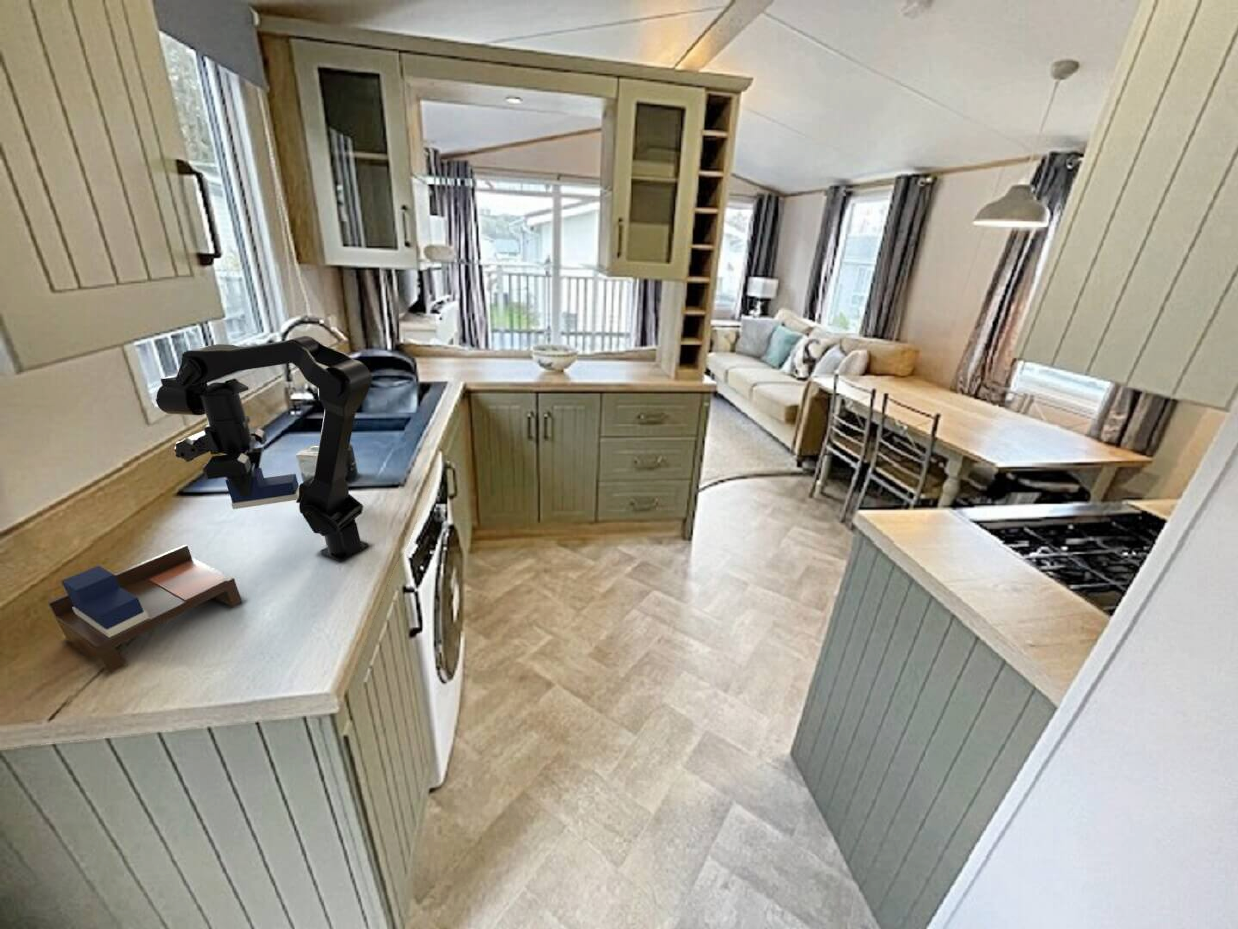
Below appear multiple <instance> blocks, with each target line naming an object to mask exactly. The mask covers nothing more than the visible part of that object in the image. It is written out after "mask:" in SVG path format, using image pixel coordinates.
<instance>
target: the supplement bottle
mask: <svg viewBox="0 0 1238 929" xmlns="http://www.w3.org/2000/svg"><path fill="white" fill-rule="evenodd" d="M358 478H359V471H358V464H357V460H356V456H355V450H354V447H353V444H351V443H350V445H349V450H348V455H347V461H346V466H345V471H344V479H345V480H346V482H347V483H351V482H353V481H355V480H357V479H358Z"/></svg>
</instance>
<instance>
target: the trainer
mask: <svg viewBox="0 0 1238 929" xmlns="http://www.w3.org/2000/svg"><path fill="white" fill-rule="evenodd" d="M224 481H225V484H226V489H227V490H228V493H229V497H230V500H231V508H232V510H238V509H244V508H251V507H258V506H264V505H265V506H266V505H272V504H279V503H285V502H292V501H297V500H298V497H299V486H300V484H299V482H298V477H297V474H296V473H290V474H284V475H283V474H282V475H276V476H269V477H264V473H263V469H262V467H259V468H255V469H254V473H253V480H252V488H251V494H250V497H249V498H243V497H242V496H241V495H240V493H239V492H238V491H237V490H236V488H235V487H234V486H233V484H232V483H231V482H230V481H229V480H228V479H227V478H226V479H225V480H224Z"/></svg>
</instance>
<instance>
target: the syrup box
mask: <svg viewBox="0 0 1238 929" xmlns="http://www.w3.org/2000/svg"><path fill="white" fill-rule="evenodd" d="M318 450H319V445H310V446H308V447H306V448H303V449H301V450H300V451H299V452H298V453H296V454H295V458H296V461H297V465H298V469H299V472H300V476H301V480H302V483H303V482H305V481H306V480H308V479H309V478H311V477H312V476H314V475H315V469H316V463H317V457H318Z"/></svg>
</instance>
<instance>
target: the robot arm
mask: <svg viewBox="0 0 1238 929" xmlns="http://www.w3.org/2000/svg"><path fill="white" fill-rule="evenodd" d="M289 364H292V365H294V366H295V367H297V369H298V370H299V371H300V373H301V374H302V376H303V377H304V379H305V380H306V381H307V382H308V383H310V384H311V385H313V386H314V387H316V388H317V392H318V393H317V395H318V399H319V401H320V403H321V404H322V407H323V409H324V413H323V420H322V427H321V432H320V438H319V443H318V444H319V445H318V446H319V450H318V457H317V463H316V469H315V475H314V476H312V477H311V478H309V479H308V480H306V481H305V482H303V481H302V483H300V484H299V485H300V486H299V497H298V500H295V503H296V504H298V510H299V512H300V514H302V516H303V518H304V520H305V521H306V523H307V524H308V526H309V527H310V529H311V530H312V532H313V533H314V534H319V535H320V536H321V537H324V541H325V544H326V547H324V548H323V549H321V550H320V554H321V555H324V556H326V557H328V558H330V559H333V560H336V561H338V562H343V561H346V560H347V559H350V558H351V557H353V556H355V555H357V554H359V553H360V552H362V551H364V550H365V549H367V548H369V547H370V545H369V544H370V543H368V542H365V541H362V540H361V536H360V532H359V528H358V523H357V522H356V518H358V517H359V516H361V515H362V514H363V510H364V505H363V504H362V503H361V502H360V501H358V499H356V498H355V497H354V496H353V495H351V493H350V492H349V491H350V490H349V489H350V487H349V484H348V482H346V480H345V479H344V471H345V466H346V461H347V455H348V450H349V445H350V444H351V439H352V434H353V428H354V423H355V418H356V414H357V411H358V409H359V408H360V406H361V405H362V403H363V402H364V401H365V399H366V398H367V395H368V393H369V391H370V389H371V386H372V384H373V373H372V372H371V371H370V370H369V369H368V367H367V366H366V365H365V363H363V362H361V361H360V360H357V359H353V357H351V356H350V355H348V354H346V353H345V352H342V351H340V350H338V349H335V348H333V347H330V346H327V345H325V344H323V343H322V342H321V341H319V340H318V339H316V338H314V337H312V336H309V335H303V336H298V337H294V338H291V339H286V340H279V341H274V342H267V343H260V344H255V345H248V346H238V345H235V344H223V343H222V344H221V343H219V344H217V343H216V344H212V345H207V346H202V347H197V348H193V349H189V350H186V351H183V352H182V354H181V363H180V366H179V369H178V371H177V374H176V376H171V375H170V376H167V377H163V378H161V379H160V382H161V386H160V387H159V388H158V390H157V393H156V399H155V403H156V405H157V407H158V408H159V409H160V410H161V411H162V412H163V413H166V414H168V415H181V416H184V415H185V416H204V415H205V418H206V421H207V425H206V426H205V427H204V428H203V430H202V431H200V432H198V433H195V434H193V435H190V436H188V437H184V438H183V439H182V440H177V442H176V443H175V444H174V449H173V451H174V452H175V457H176V458H179V459H180V458H181V459H182V460H184V462H186V463H190V462H192V461H194V460H195V459H196V458H199V457H200V456H203V455H205V454H208V453H210V455H211V457H210V458H209V460H208V461H207V462H206V463H205V464H204V466H203V467H202V472H203V475H204V478H205V479H206V480H213V479H221V478H222V479H223V478H226V479H228V480H229V481H230V482H231V483H232V484H233V486H234V487H235V488H236V490H237V491H238V492H239V493H240V495H241V496H242V497H243V498H249V497H250V494H251V488H252V480H253V473H254V469H255V468H261V467H260V466H261V462H262V457H263V452H264V448H265V447H255V443H256V442H258V443H259V444H260V445H265V444H266V443H267V441H268V439H267V435H266V432H265V431H264V430H262V429H261V428H259V427H255V428H250V427H249V424H250V422H251V419H250V415H246V413H245V409H244V405H243V403H242V399H241V395H240V394H241V393H244V392H247V391H249V390H250V389H249V386H247V385H246V384H245V383H242V382H241V381H239V380H238V379H237V378H234V377H233V378H231V379H228V380H225V381H224V382H220V381H219V380H221V379H224V378H228V377H230V376H233V375H237V374H239V373H241V372H244V371H249V370H254V369H261V368H268V367H274V366H281V365H289ZM323 366H324V367H326V368H324V367H323ZM215 381H216V382H215ZM217 381H218V382H217ZM211 382H212V383H211ZM208 383H210V384H208ZM221 454H222V455H221Z"/></svg>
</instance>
